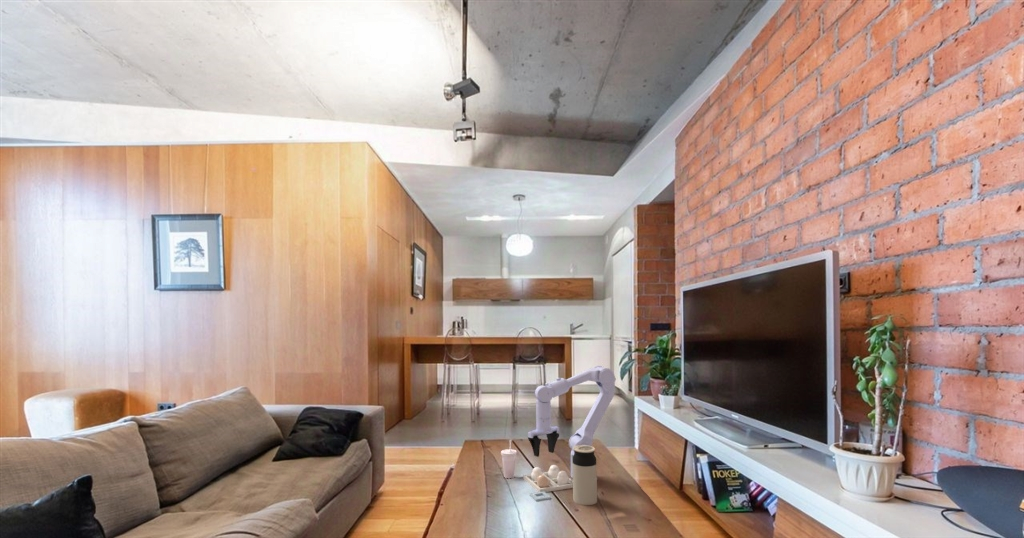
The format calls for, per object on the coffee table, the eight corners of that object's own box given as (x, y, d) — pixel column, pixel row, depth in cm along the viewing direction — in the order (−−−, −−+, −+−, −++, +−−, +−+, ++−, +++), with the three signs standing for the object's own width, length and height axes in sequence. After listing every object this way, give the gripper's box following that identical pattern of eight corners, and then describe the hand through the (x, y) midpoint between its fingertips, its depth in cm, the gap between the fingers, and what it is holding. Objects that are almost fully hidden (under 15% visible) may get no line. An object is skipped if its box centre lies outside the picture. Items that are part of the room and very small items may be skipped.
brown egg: (541, 483, 168) (536, 471, 166) (552, 483, 166) (548, 471, 165) (537, 492, 164) (532, 480, 162) (549, 493, 162) (544, 481, 160)
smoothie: (515, 480, 175) (515, 442, 176) (499, 479, 176) (499, 441, 177) (518, 474, 181) (518, 438, 182) (502, 473, 182) (502, 437, 184)
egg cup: (544, 495, 160) (544, 490, 160) (551, 502, 154) (551, 497, 154) (528, 498, 158) (528, 493, 158) (535, 504, 152) (535, 499, 152)
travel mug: (601, 503, 153) (600, 448, 155) (588, 510, 148) (586, 453, 149) (582, 496, 159) (581, 443, 161) (568, 503, 153) (567, 448, 155)
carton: (558, 476, 179) (558, 470, 179) (577, 489, 165) (577, 483, 165) (523, 481, 174) (523, 475, 174) (539, 495, 160) (539, 489, 160)
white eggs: (556, 476, 177) (556, 462, 177) (571, 487, 166) (571, 472, 167) (529, 480, 173) (529, 466, 173) (542, 491, 162) (541, 476, 162)
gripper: (536, 422, 169) (536, 460, 167) (564, 416, 178) (564, 452, 176) (524, 419, 174) (524, 455, 173) (551, 413, 183) (552, 448, 182)
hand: (543, 454), depth 175 cm, fingers open, 7 cm apart
